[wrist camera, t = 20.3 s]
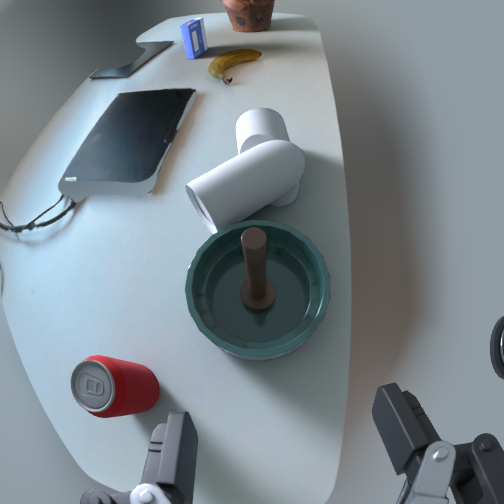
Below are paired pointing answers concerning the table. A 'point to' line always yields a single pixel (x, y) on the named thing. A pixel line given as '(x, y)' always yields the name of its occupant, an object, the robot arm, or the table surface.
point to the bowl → (277, 270)
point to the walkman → (194, 37)
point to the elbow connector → (250, 173)
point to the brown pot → (249, 14)
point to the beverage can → (113, 387)
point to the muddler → (256, 272)
